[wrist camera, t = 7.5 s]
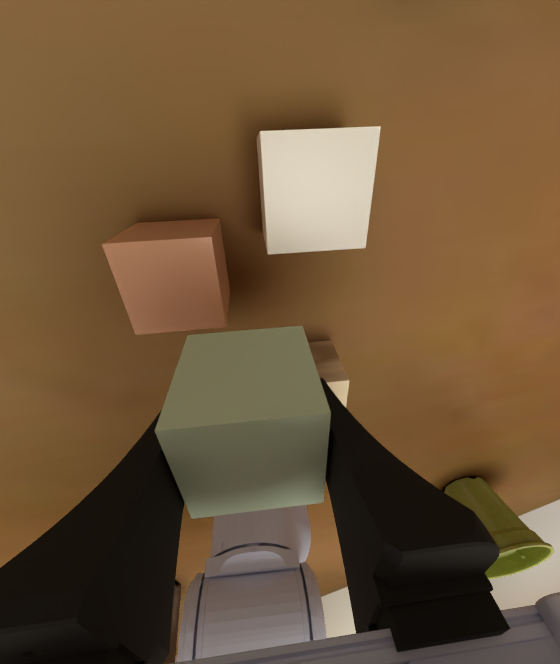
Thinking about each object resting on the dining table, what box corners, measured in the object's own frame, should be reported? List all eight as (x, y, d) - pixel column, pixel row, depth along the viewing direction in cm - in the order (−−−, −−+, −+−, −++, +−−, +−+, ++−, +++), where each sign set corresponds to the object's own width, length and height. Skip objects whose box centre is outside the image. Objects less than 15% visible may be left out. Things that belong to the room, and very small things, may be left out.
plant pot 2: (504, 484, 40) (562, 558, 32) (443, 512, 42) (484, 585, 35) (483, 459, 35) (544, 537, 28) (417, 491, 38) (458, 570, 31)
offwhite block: (344, 134, 16) (380, 126, 11) (338, 227, 18) (365, 247, 14) (256, 138, 15) (260, 131, 11) (262, 231, 18) (267, 254, 14)
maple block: (330, 339, 23) (349, 380, 19) (327, 384, 26) (343, 428, 22) (271, 345, 23) (276, 387, 19) (274, 389, 26) (279, 435, 21)
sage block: (302, 325, 12) (331, 413, 8) (301, 405, 15) (323, 502, 11) (187, 335, 12) (154, 430, 8) (208, 414, 15) (191, 518, 10)
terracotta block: (219, 217, 17) (211, 237, 13) (230, 291, 20) (226, 327, 16) (137, 222, 17) (101, 243, 13) (159, 296, 20) (135, 334, 15)
